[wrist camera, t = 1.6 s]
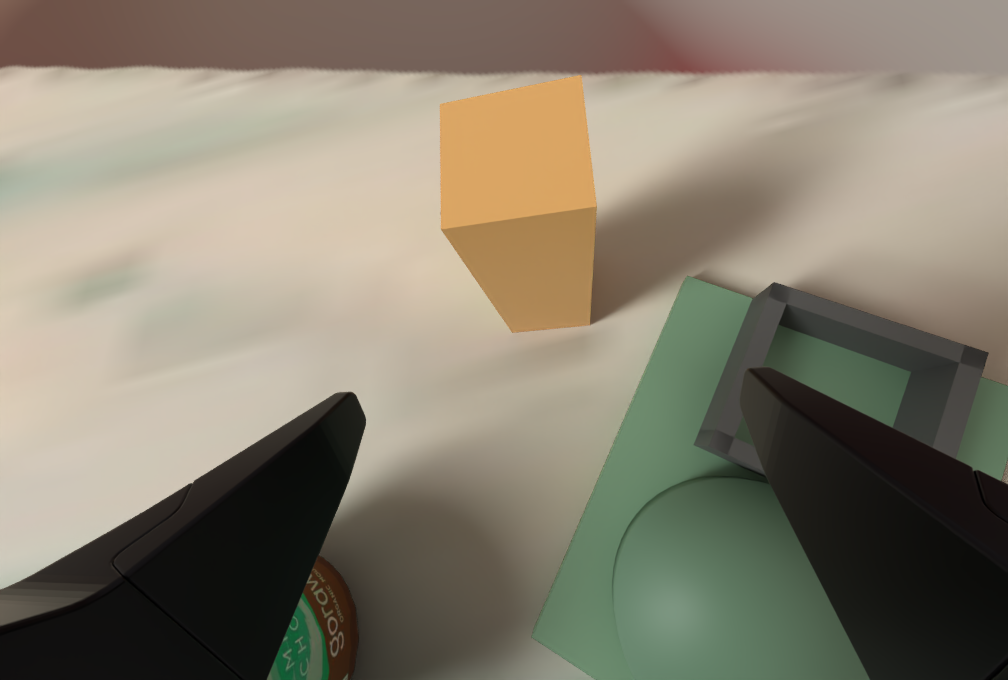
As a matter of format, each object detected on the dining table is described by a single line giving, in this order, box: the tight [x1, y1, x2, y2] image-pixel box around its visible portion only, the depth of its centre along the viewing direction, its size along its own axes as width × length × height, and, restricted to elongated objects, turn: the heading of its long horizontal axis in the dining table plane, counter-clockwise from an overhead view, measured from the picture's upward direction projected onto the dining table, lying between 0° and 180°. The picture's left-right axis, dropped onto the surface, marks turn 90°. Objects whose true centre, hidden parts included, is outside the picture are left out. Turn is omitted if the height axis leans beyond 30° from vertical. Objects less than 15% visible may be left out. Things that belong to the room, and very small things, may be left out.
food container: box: [267, 555, 359, 680], centre depth 18 cm, size 12×6×10 cm, turn 46°
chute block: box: [440, 75, 597, 333], centre depth 18 cm, size 5×5×12 cm
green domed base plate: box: [532, 276, 1008, 680], centre depth 18 cm, size 20×15×4 cm
